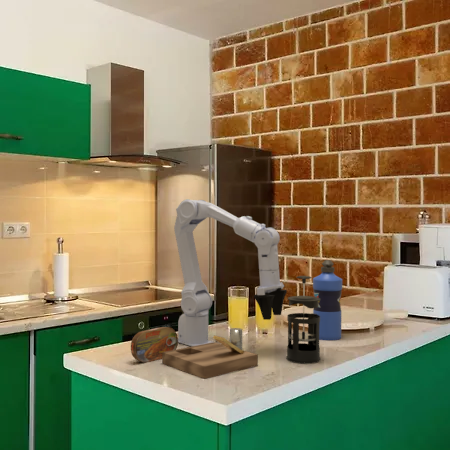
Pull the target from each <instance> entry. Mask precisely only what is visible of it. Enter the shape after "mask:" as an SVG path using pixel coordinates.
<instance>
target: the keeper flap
mask: <svg viewBox="0 0 450 450" xmlns="http://www.w3.org/2000/svg"><path fill="white" fill-rule="evenodd" d="M212 338H213V340H215V341H216V342H217V343H219V344H222V345H224V346H225V347H227V348H228V349H229V350H231V351H233V352H237V353H240V354H243V353H244V351H245V350H243V349H242V350H241V349H239V348H238V347H236V346H235V345H233V344H232V343H231V342H230V340H228V339H226V338H225V337H223V336H217V335H213V337H212Z"/></svg>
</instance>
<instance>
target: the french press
mask: <svg viewBox="0 0 450 450" xmlns="http://www.w3.org/2000/svg"><path fill="white" fill-rule="evenodd" d="M296 279H301V280H302V282H301V283H302V284H303V285H302V286H303V291H302V294H303V295H296V296H295V295H294V296H287V300H288V305H289V307H291V305H301V304H302V312H297V313H295V312H294V313H289V314H287V315H286V316H287V317H286V318H287V319H286V320H287V346H286V357H285V359H286V360H287V361H288V362H291V363H295V364H304V365H305V364H306V365H307V364H315V363H316V364H317V363H319V362H320V361H321V357H320V354H321V353H320V352H321V349H320V348H321V347H320V340H319V322H320V316H319V315H317V314H313V312H312V313H309V312H308V313H307V312H305V307H306V308H307V309H314V308H317V307H319V301H320V298H317V297H314V296H310V295H305V294H306V293H305V292H306V291H305V289H306V287H305V286H306V285H305V284H306V283H307V280H309V279H313V278H312V276H309V275H299V276H296ZM300 325H302V332H299V331H300ZM305 325H307V332H306V331H305ZM299 342H301V343H299ZM303 342H307V343H303Z"/></svg>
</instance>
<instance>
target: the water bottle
mask: <svg viewBox="0 0 450 450" xmlns="http://www.w3.org/2000/svg"><path fill="white" fill-rule="evenodd" d="M321 265H322V266H321V267H320V272H321V273H320V274H319V275H317V276H315V277H313V278H312V289H313V297H317V298H320V301H319V307H317V308H312V309H313V310H312V313H313V314H317V315H319V316H320V322H319V341H337V340H338V341H339V340H341V339H342V306H341V298H342V290H343V278H341V277H339V276H338V275H336V274H335V273H334V272H335V267H334V265H335V264H334V262H333V261H332V260H331V259H325V260H324V261H323V262H322V263H321Z"/></svg>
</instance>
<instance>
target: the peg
mask: <svg viewBox="0 0 450 450" xmlns="http://www.w3.org/2000/svg"><path fill="white" fill-rule="evenodd" d="M229 342H231V343H232V344H233V345H235V346H236V347H238V348H239V349H241V350H243V328H240V327H239V328H238V327H236V328H235V327H233V328H229Z"/></svg>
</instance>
